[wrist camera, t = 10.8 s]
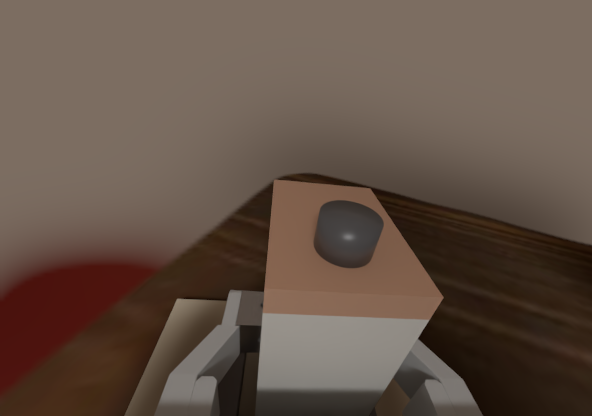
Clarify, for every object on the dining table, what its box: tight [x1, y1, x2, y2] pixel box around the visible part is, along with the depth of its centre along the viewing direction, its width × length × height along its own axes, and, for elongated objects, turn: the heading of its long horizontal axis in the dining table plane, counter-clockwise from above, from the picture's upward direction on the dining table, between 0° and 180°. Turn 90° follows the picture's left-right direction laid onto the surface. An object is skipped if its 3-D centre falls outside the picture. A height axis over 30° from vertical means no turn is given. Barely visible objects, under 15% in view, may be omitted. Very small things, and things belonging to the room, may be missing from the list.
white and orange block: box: [255, 180, 444, 416], centre depth 10 cm, size 4×6×13 cm
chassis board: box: [125, 299, 410, 416], centre depth 14 cm, size 18×14×3 cm
